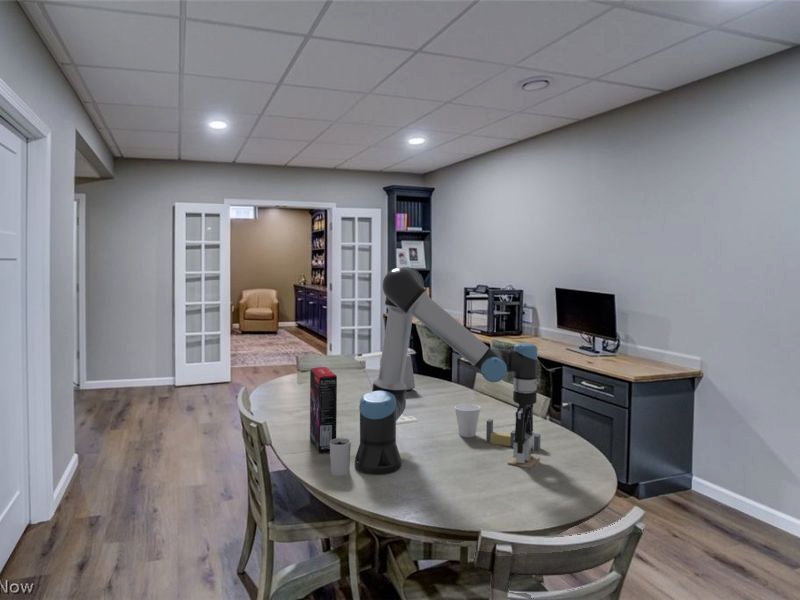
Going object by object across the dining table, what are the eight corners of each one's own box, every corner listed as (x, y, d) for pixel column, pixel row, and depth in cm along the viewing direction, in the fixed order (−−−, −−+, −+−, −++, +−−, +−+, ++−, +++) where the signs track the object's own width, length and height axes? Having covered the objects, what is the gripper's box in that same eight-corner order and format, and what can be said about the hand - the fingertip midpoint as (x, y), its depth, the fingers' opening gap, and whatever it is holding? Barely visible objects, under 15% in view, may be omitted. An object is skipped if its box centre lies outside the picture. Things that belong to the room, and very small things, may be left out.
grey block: (513, 457, 183) (513, 436, 182) (519, 450, 189) (519, 430, 189) (528, 460, 180) (528, 439, 180) (533, 453, 187) (534, 432, 186)
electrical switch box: (378, 391, 290) (372, 354, 288) (403, 384, 296) (398, 348, 294) (389, 397, 277) (383, 359, 274) (415, 390, 283) (410, 352, 280)
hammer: (486, 442, 204) (486, 421, 203) (488, 440, 206) (489, 419, 206) (538, 450, 195) (538, 428, 194) (540, 448, 198) (540, 426, 197)
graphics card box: (308, 439, 206) (308, 367, 204) (327, 437, 209) (326, 366, 207) (318, 455, 190) (318, 376, 188) (338, 452, 193) (338, 375, 191)
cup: (459, 440, 206) (460, 411, 205) (450, 432, 215) (450, 404, 214) (484, 438, 208) (485, 409, 207) (474, 430, 218) (474, 403, 217)
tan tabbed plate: (507, 464, 182) (507, 449, 182) (515, 454, 191) (516, 440, 191) (531, 468, 179) (532, 453, 178) (539, 458, 188) (539, 444, 187)
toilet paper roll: (325, 472, 175) (325, 441, 174) (342, 466, 180) (341, 436, 179) (338, 478, 170) (338, 446, 170) (355, 472, 175) (355, 441, 174)
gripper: (528, 398, 172) (527, 470, 174) (543, 385, 190) (541, 450, 192) (505, 395, 176) (503, 466, 177) (521, 383, 194) (520, 447, 196)
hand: (523, 458), depth 185 cm, fingers closed on grey block, 7 cm apart
